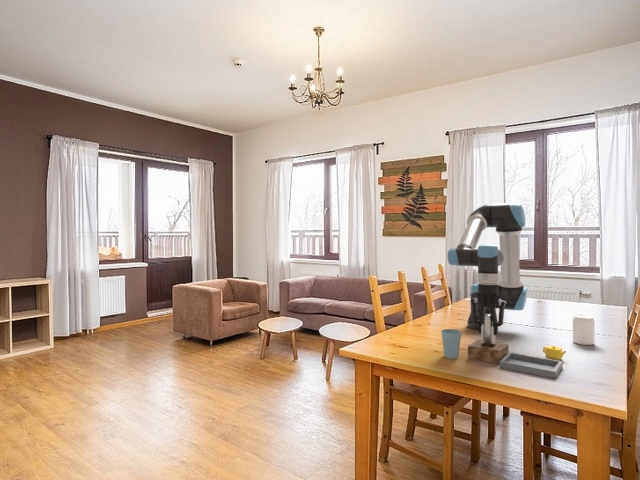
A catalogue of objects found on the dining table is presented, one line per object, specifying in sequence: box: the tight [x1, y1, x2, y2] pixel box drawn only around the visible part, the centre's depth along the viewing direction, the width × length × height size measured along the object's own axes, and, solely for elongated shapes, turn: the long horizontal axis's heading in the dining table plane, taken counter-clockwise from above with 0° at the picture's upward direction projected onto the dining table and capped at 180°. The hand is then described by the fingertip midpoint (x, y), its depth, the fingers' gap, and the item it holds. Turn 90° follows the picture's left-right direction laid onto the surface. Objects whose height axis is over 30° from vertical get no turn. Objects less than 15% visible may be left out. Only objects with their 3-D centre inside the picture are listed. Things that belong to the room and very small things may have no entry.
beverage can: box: [572, 314, 596, 346], centre depth 175 cm, size 8×8×12 cm
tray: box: [499, 351, 564, 380], centre depth 145 cm, size 18×14×2 cm
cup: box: [440, 328, 462, 360], centre depth 159 cm, size 8×8×10 cm
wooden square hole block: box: [467, 338, 510, 365], centre depth 157 cm, size 12×12×5 cm
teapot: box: [542, 345, 567, 361], centre depth 155 cm, size 8×6×5 cm
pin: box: [484, 314, 493, 347], centre depth 157 cm, size 3×3×14 cm
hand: (488, 341), depth 157 cm, fingers closed on pin, 3 cm apart
